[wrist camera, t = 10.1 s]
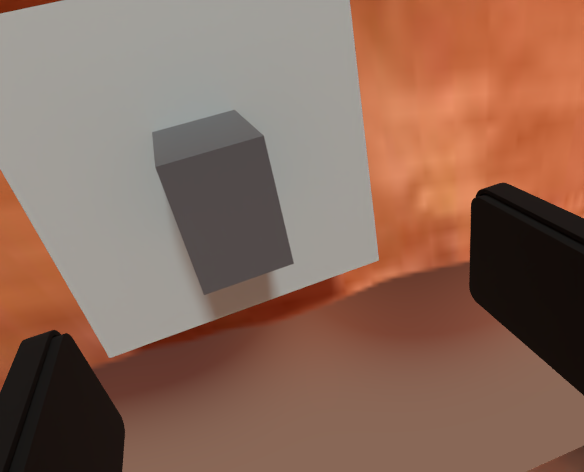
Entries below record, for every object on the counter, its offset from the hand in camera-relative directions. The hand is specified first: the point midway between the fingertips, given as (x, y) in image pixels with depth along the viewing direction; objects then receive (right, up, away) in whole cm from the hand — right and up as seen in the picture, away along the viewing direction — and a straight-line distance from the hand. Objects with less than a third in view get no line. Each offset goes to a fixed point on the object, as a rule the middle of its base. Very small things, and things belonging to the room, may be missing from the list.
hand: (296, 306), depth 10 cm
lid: (-4, +5, +10) cm, 12 cm away
